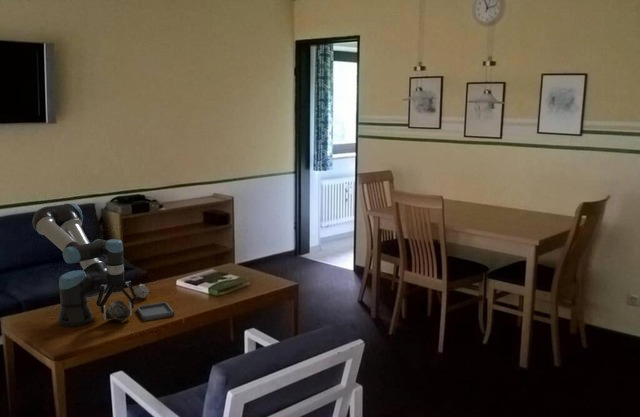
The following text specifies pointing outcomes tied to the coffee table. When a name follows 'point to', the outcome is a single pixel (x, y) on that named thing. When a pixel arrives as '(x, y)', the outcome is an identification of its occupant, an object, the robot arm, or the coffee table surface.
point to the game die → (142, 291)
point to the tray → (155, 311)
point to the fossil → (117, 311)
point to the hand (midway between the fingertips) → (117, 317)
